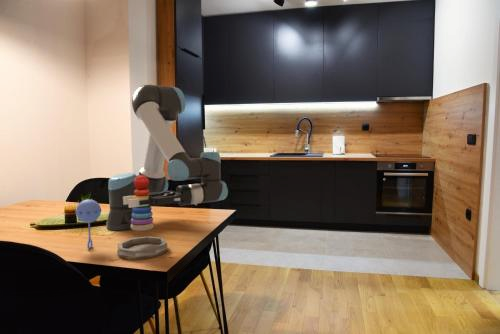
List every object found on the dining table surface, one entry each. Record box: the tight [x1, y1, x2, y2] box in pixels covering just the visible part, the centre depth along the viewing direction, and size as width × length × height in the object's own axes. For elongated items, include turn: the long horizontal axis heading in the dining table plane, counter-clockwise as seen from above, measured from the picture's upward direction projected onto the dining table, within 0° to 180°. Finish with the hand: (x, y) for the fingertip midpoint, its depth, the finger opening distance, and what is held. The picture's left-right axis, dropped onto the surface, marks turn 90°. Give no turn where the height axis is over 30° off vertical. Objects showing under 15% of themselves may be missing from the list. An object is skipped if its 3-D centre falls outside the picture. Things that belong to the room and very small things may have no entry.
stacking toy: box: [130, 175, 155, 232], centre depth 129 cm, size 8×8×19 cm
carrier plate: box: [116, 235, 168, 261], centre depth 131 cm, size 17×17×3 cm
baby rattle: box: [75, 198, 102, 250], centre depth 135 cm, size 9×9×18 cm
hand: (126, 202), depth 126 cm, fingers closed on stacking toy, 6 cm apart
